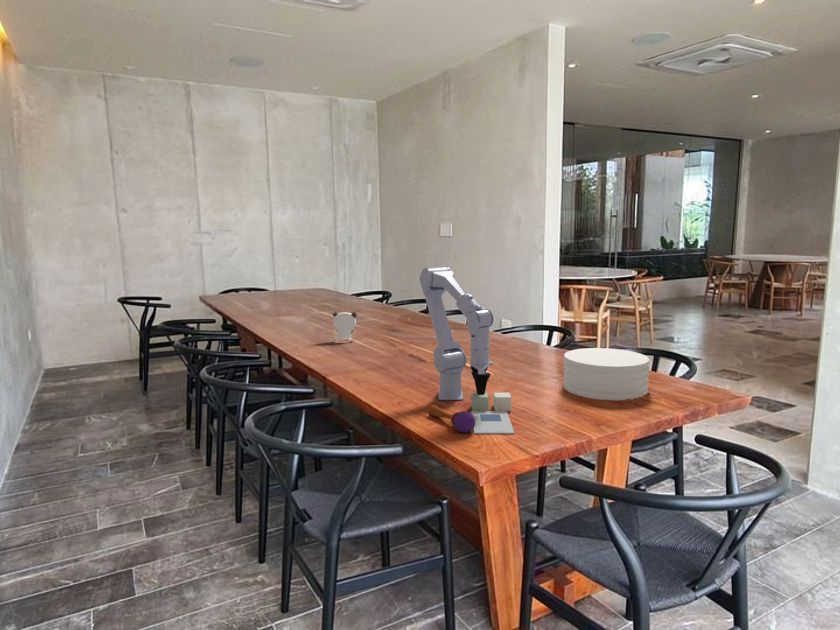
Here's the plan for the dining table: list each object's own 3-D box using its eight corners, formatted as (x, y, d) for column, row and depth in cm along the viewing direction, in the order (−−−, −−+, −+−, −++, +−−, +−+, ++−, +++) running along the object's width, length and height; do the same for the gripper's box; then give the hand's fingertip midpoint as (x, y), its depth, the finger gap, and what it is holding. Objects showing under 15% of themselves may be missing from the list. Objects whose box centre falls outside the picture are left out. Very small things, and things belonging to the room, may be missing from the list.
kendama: (441, 400, 171) (480, 413, 154) (439, 419, 171) (478, 435, 153) (425, 400, 168) (462, 413, 151) (423, 419, 168) (460, 435, 150)
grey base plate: (470, 412, 171) (470, 411, 171) (506, 412, 170) (506, 411, 170) (474, 433, 153) (474, 432, 153) (514, 433, 153) (514, 432, 152)
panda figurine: (357, 339, 288) (357, 310, 285) (356, 343, 276) (355, 313, 274) (334, 339, 287) (333, 310, 285) (332, 344, 276) (331, 314, 274)
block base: (471, 406, 177) (471, 392, 176) (487, 406, 177) (487, 392, 176) (472, 411, 172) (472, 397, 172) (488, 411, 172) (488, 397, 171)
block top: (493, 406, 177) (493, 392, 176) (509, 406, 177) (509, 392, 176) (494, 411, 172) (495, 397, 171) (511, 411, 172) (511, 397, 171)
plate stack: (547, 383, 202) (548, 352, 200) (609, 374, 212) (610, 345, 211) (598, 405, 177) (600, 370, 175) (666, 394, 187) (668, 361, 185)
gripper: (495, 353, 164) (495, 397, 166) (490, 343, 179) (490, 384, 181) (471, 353, 165) (471, 398, 167) (468, 343, 179) (469, 384, 181)
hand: (480, 391), depth 174 cm, fingers open, 7 cm apart
